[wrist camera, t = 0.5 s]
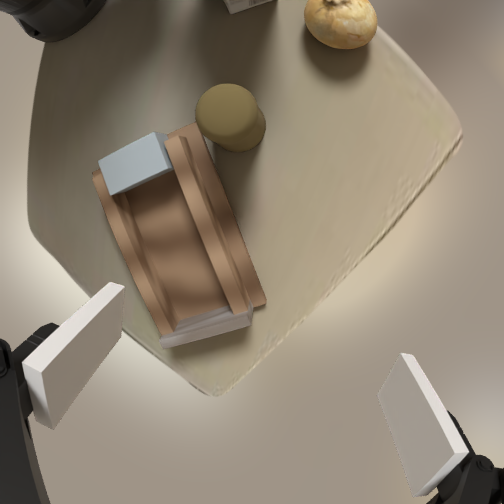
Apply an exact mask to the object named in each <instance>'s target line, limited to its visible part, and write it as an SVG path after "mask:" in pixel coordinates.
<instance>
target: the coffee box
mask: <svg viewBox="0 0 504 504" xmlns="http://www.w3.org/2000/svg"><path fill="white" fill-rule="evenodd" d="M269 1H273V0H224V2H225V4H226V6H227V9H228V11H229V13H230V14H234V13H237V12H240V11H242V10H245V9H248V8H251V7H254V6H257V5H260V4H263V3H266V2H269Z"/></svg>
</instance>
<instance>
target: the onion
mask: <svg viewBox="0 0 504 504" xmlns="http://www.w3.org/2000/svg"><path fill="white" fill-rule="evenodd" d="M304 18H305V22H306V25H307V28H308V30H309V31H310V32H311V33H312V35H313V36H314V37H315V38H316V39H317V40H319V41H321V42H322V43H324V44H326V45H328V46H330V47H333V48H338V49H355V48H358V47H361V46H363V45H365V44H367V43H368V42H369V41H370V40H371V39H372V38H373V37H374V35H375V33H376V30H377V16H376V13H375V11H374V9H373V7H372V5H371V4H370V3H369V1H368V0H308V2H307V4H306V7H305V10H304Z"/></svg>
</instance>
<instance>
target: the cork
mask: <svg viewBox="0 0 504 504" xmlns="http://www.w3.org/2000/svg"><path fill="white" fill-rule="evenodd" d="M195 119H196V122H197V126H198V128H199V130H200V131H201V132H202V134H203V135H204V136H205V137H207V138H208V139H210V140H211V141H213V142H217V143H218V145H220V146H221V147H222V148H224V149H225V150H228V151H231V152H244V151H248V150H251V149H252V148H254V147H255V146H256V145H258V143H259V142H260V141H261V140H262V138H263V136H264V133H265V130H266V121H265V118H264V115H263V113H262V112H261V110H260V109H259V108H258V105H257V102H256V99H255V98H254V97H253V95H252V94H251V93H250V92H249V91H248V90H246V89H245V88H243V87H242V86H239V85H235V84H219V85H216V86H214V87H211V88H210V89H209V90H207V91H206V92H205V93H204V94H203V95H202V96H201V98H200V99H199V101H198V103H197V106H196V114H195Z"/></svg>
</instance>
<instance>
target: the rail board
mask: <svg viewBox="0 0 504 504" xmlns="http://www.w3.org/2000/svg"><path fill="white" fill-rule="evenodd" d="M167 137H168V139H169V140H166V141H164V143H165V146H166V149H167V151H168V154H169V157H170V159H171V162H172V165H173V167H174V170H172V171H170V172H167V173H165V174H163V175H161V176H158V177H156V178H154V179H152V180H150V181H148V182H145V183H143V184H141V185H139V186H137V187H135V188H133V189H131V190H128V191H126V192H123V193H119V194H115V195H111V196H110V193H109V190H108V188H107V185H106V182H105V180H104V177H103V174H102V171H101V169H98V170H96V171H95V172H93V173H92V174H93V178H92V179H93V182H94V185H95V188H96V190H97V193H98V196H99V198H100V201H101V203H102V206H103V209H104V211H105V214H106V216H107V219H108V221H109V224H110V226H111V228H112V231H113V233H114V236H115V238H116V240H117V243H118V245H119V247H120V250H121V252H122V254H123V257H124V259H125V261H126V263H127V266H128V268H129V270H130V272H131V274H132V276H133V279H134V281H135V283H136V285H137V287H138V289H139V291H140V293H141V295H142V298H143V300H144V302H145V304H146V306H147V308H148V310H149V312H150V314H151V316H152V318H153V320H154V322H155V323H156V325H157V327H158V329H159V331H160V333H161V335H162V336H161V338H160V339H159V342H160V344H161V346H162V348H163V349H166V348H170V347H174V346H178V345H182V344H186V343H190V342H193V341H197V340H201V339H205V338H208V337H212V336H215V335H219V334H223V333H226V332H230V331H233V330H237V329H240V328H244V327H247V326H250V325H251V322H252V315H253V307H257V306H260V305H263V304H266V297H265V294H264V292H263V289H262V287H261V284H260V281H259V279H258V276H257V274H256V271H255V269H254V266H253V263H252V261H251V258H250V256H249V253H248V251H247V248H246V245H245V243H244V240H243V238H242V235H241V232H240V230H239V227H238V225H237V222H236V220H235V217H234V214H233V212H232V209H231V207H230V204H229V201H228V199H227V196H226V194H225V191H224V188H223V186H222V183H221V181H220V178H219V176H218V173H217V170H216V168H215V165H214V163H213V160H212V157H211V155H210V152H209V150H208V147H207V144H206V142H205V139H204V137H203V134H202V132H201V131H200V130H199V128H198V126H197V122H194V123H192V124H189V125H187V126H185V127H183V128H180V129H178V130H176V131H174V132H171V133H169V134H167Z"/></svg>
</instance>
